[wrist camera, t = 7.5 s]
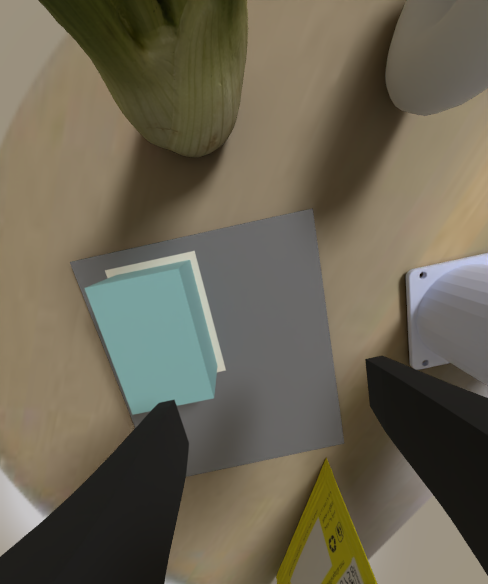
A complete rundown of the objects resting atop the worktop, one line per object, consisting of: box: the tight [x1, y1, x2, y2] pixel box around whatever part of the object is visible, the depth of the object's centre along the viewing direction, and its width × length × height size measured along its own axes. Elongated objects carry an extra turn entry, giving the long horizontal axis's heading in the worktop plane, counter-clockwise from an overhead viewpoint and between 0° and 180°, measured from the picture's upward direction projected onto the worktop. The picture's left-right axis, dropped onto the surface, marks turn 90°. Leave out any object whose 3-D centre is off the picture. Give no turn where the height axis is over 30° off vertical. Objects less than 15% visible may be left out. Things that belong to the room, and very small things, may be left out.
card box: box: [85, 260, 218, 415], centre depth 16 cm, size 8×5×4 cm, turn 12°
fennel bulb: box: [39, 0, 248, 157], centre depth 9 cm, size 6×5×12 cm
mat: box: [70, 208, 344, 477], centre depth 19 cm, size 16×19×1 cm
